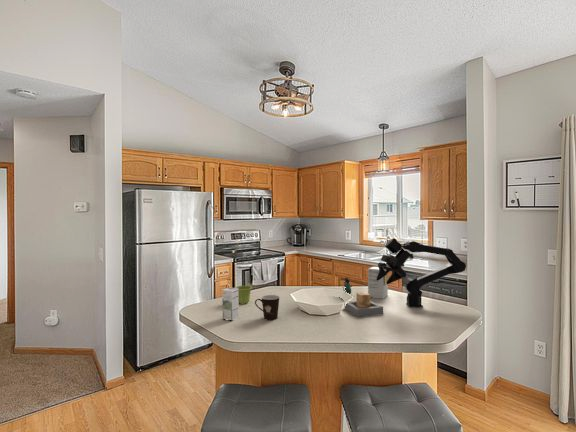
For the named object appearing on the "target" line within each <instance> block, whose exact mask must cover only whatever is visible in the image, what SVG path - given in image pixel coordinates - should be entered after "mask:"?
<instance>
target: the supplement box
mask: <svg viewBox="0 0 576 432" xmlns="http://www.w3.org/2000/svg"><path fill="white" fill-rule="evenodd" d="M378 273H379V268H378V266H371V267H369V268H367V293H368V294H370V298H375V299H381V300H384V299H385V298H387V297H388V296H389V295H388V293H389V292H388V291H389V289H388V288H389V287H388V286H389V284H387V283H386V282H387V280H388V279H389V277H388V274H389V272H388V273H387V275H385V276H384V277H383V278H381V279H380V280H378V281H377V280H376V279H377V276H378Z"/></svg>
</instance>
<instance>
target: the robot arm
mask: <svg viewBox="0 0 576 432" xmlns="http://www.w3.org/2000/svg"><path fill="white" fill-rule="evenodd" d="M384 247H385V249H387V250H388V251H390V253H391V254H390V255H387V254H382V256H381V258H380V261H381V262H378V263H377V267H378V268H379V273H378V276H377V279H376V280H377V281H378V280H380V279H381V278H383V277H384V276H385V275H387V273H388V274H389V273H390V272H391V274H390V276H389V277H388V280H387V282H386V283H387V284H388V285H389V284H392V283H393V282H396V281H398V280H402V279H405V278H406V280H404V281H403V287H404V289H406V291H407V292H408V293H407V296H406V303H405V304H406V305H408V307H411V308H422V307H424V305H422V295H423V291H421V288H422V287H423V286H424V285H426V284H430V283H431V282H435V281H436V280H438V279H441V278H443V277H446V276H448V275H452V274H459V273H464V272H465V270H466V268H467V265H466V263H465V262H464V261H463V260H461V259H460V257H459V256H458V255H457V254H456V253H455V252H454V251H453V249H451V248H448V247H439V246H433V245H428V244H422V243H420V242H417V241H414V240H408V241H406V242H404V243H400V241H398V240H397V239H396V238H395V237H393V238H391V239H390V240H389V241H387V242H386V244H385V245H384ZM413 253H428V254H435V255H441V256H444V257H445V258H446V260H447V263H446V264H445V265H444V266H442V267H440V268H438V269H436V270H433V271H431V272H429V273H425V274H424V275H421V276H419V277H417V276H415V275H412V276H411V277H406V276H407V275H408V274H407V272H406V271H405V270H404V268H403V267H405V266H406V265H405V263H406V262H407V260H408V259H409V260H413V259H415V257H414V254H413ZM392 254H395V255H392Z"/></svg>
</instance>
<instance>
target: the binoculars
mask: <svg viewBox="0 0 576 432" xmlns="http://www.w3.org/2000/svg"><path fill="white" fill-rule="evenodd" d="M343 282H344V283H343V284H344V286H343V288H344V287H346V288H345V290H346V291H345V290H344V291H345V293H346V292H347V293H349V294H351V295H352V288H351V287H353V285H351V282H350V279H349V277H344V281H343Z"/></svg>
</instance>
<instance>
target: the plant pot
mask: <svg viewBox="0 0 576 432" xmlns="http://www.w3.org/2000/svg"><path fill="white" fill-rule="evenodd" d="M234 288H238V302H239V303H246V304H247V303H248V302H249V303H250V298H251V291H252V289H253V287H252V286H251V285H240V286H235V287H234ZM249 303H248V304H249Z"/></svg>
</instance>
